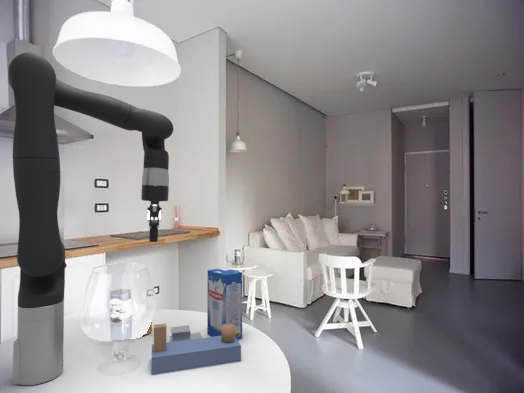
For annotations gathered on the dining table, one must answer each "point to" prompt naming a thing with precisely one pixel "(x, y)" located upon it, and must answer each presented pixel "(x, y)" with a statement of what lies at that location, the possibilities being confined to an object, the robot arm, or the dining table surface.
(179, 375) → the dining table surface
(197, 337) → the lever cap
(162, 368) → the hand plane
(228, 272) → the milk carton
